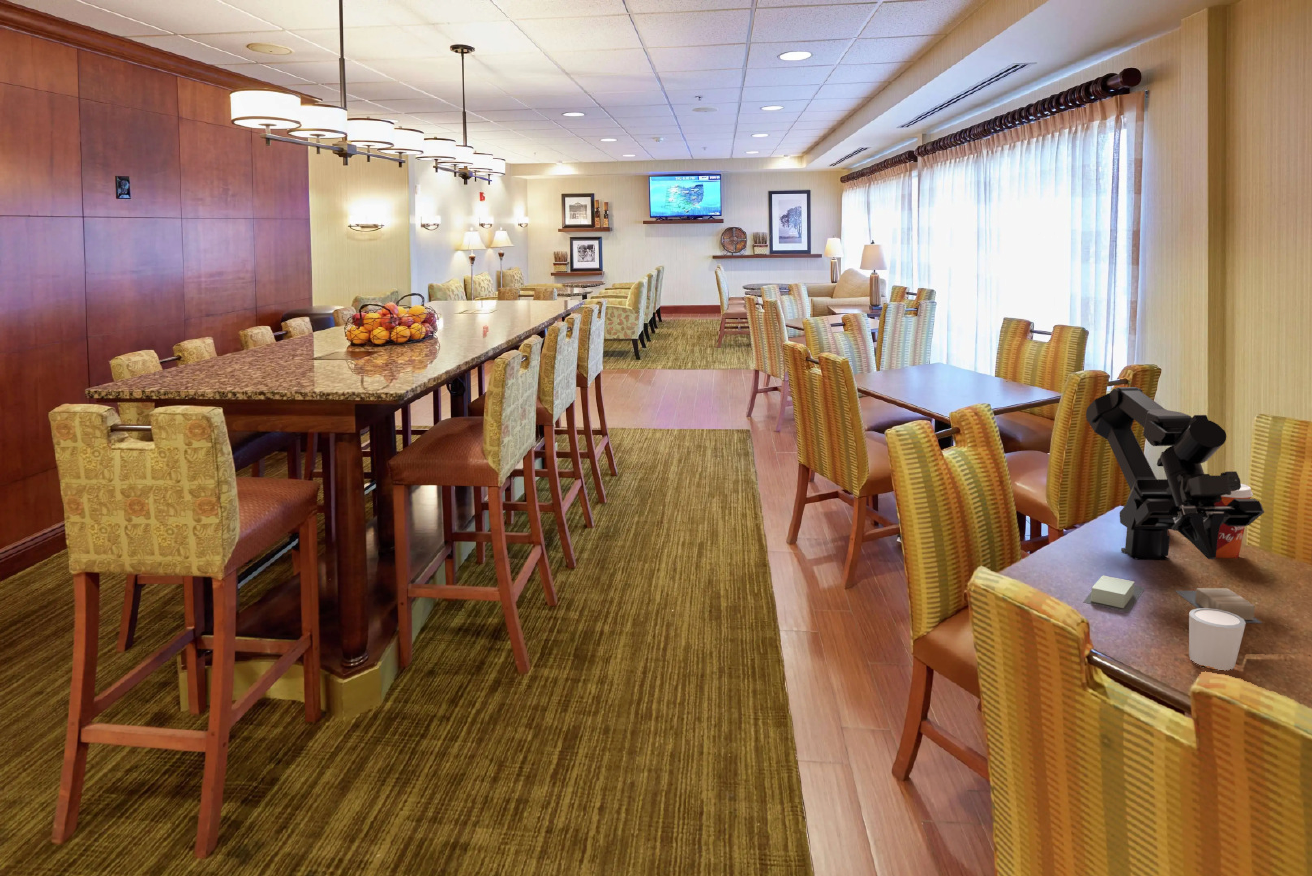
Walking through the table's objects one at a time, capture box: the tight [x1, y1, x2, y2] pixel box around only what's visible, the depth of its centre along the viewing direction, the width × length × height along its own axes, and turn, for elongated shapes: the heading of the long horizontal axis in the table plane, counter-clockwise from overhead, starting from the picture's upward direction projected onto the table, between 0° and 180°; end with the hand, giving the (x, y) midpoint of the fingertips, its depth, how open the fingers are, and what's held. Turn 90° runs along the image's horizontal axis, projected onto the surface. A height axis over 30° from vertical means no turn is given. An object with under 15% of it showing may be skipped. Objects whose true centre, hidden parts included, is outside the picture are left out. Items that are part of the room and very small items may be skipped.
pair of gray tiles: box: [1083, 584, 1263, 624], centre depth 144 cm, size 25×18×1 cm
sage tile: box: [1090, 575, 1135, 608], centre depth 145 cm, size 2×5×8 cm
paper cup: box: [1215, 483, 1254, 559], centre depth 164 cm, size 8×8×14 cm
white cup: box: [1188, 608, 1247, 672], centre depth 123 cm, size 7×7×7 cm
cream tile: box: [1195, 587, 1256, 620], centre depth 139 cm, size 2×5×8 cm
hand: (1212, 558), depth 142 cm, fingers closed
